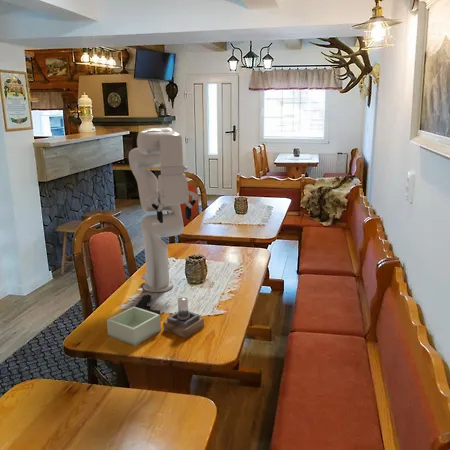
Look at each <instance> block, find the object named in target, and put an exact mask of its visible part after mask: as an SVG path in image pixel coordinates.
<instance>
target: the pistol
mask: <svg viewBox="0 0 450 450" xmlns="http://www.w3.org/2000/svg"><path fill="white" fill-rule="evenodd" d="M151 301H152V295H151V294H144V295H142V296H141V298H140V300H139V301H138V302H137V303H136V304H135V305H134V307H137V308H140V309H144V310H147V311H150V312H153V313H156V314H159V315H160V316H161V309H160V310H158V309H157V310H156V309H151V307H152V306H151V305H149V303H150V302H151Z"/></svg>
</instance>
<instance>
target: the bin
mask: <svg viewBox="0 0 450 450" xmlns="http://www.w3.org/2000/svg"><path fill="white" fill-rule="evenodd" d="M134 306H135V305H134ZM134 306H131V307H129V308H127V309H125V310H124V311H121V312H120V313H118V314H115V315H114V316H111V317H110V318H108V319H106V325H107V326H106V327H107V337H110V338H113V339H116V340H118V341H120V342H123V343H125V344H128V345H131V346H134V347H136V346H137V345H139V344H141V343H142V342H144V341H146V340H147V339H149V338H151V337H152V336H154V335H156V334H158V333H159V332H161V331H162V328H161V314H160V315H159V314H156V313H153V312H150V311H147V310H144V309H140V308H137V307H134Z"/></svg>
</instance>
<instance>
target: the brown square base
mask: <svg viewBox="0 0 450 450" xmlns="http://www.w3.org/2000/svg"><path fill="white" fill-rule="evenodd" d="M188 313H189V314H190V319H189V320H187V321H185V322H183V321H180V320H177V315H178V311H177V312H175V313H173V314H172V315H170V316H169V317H166V318H167V319H166V320H165V321H163V323H162V324H163V331H165V332H168V333H171V334H174V335H177V336H180V337H182V338H189V337H190V336H192V334H194V333H196V332H198V331H199V330H201V329H202V328H203V327H205V318H203V317H201V315H200V314H198V313H196V312H195V313H194V312H191V311H189V310H188Z"/></svg>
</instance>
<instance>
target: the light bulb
mask: <svg viewBox="0 0 450 450" xmlns="http://www.w3.org/2000/svg"><path fill="white" fill-rule="evenodd" d="M177 310H178V311H177V312H178V315H177V320H180V321H183V322H185V321H187V320H189V319H190V314H189V313H188V311H189V298H188V297H185V296H182V297H181V296H180V297H178V298H177Z"/></svg>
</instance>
